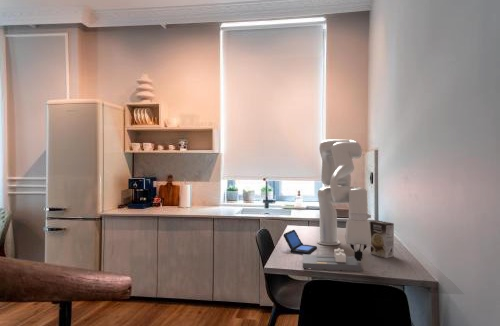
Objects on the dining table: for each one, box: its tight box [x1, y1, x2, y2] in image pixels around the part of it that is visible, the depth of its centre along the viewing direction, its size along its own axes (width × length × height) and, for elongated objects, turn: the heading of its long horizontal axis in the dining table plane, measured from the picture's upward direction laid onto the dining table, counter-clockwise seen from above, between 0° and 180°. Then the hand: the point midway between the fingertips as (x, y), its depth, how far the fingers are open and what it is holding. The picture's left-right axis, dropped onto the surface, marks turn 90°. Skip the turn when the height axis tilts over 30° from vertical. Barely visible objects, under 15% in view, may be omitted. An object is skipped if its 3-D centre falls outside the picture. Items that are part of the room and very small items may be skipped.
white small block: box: [336, 252, 347, 262], centre depth 143 cm, size 3×4×4 cm
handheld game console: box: [283, 229, 318, 255], centre depth 174 cm, size 16×13×9 cm
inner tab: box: [333, 247, 345, 258], centre depth 150 cm, size 3×4×4 cm
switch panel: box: [302, 254, 362, 272], centre depth 147 cm, size 14×24×3 cm, turn 81°
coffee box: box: [369, 220, 395, 259], centre depth 163 cm, size 9×6×16 cm
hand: (358, 260), depth 142 cm, fingers closed
